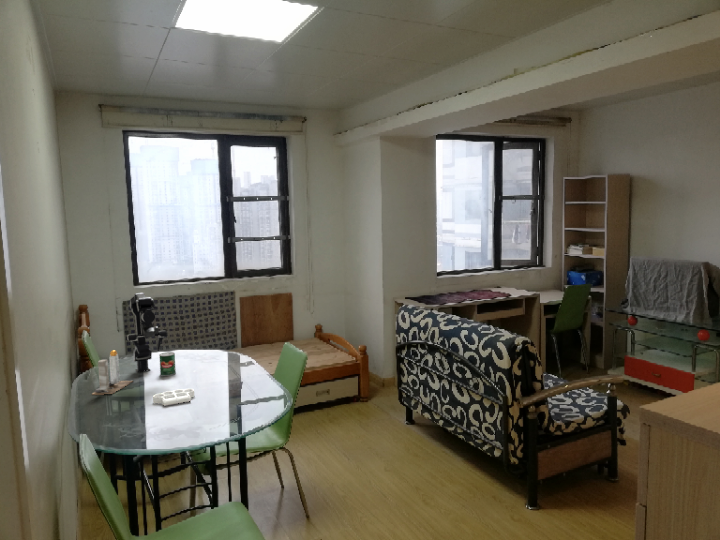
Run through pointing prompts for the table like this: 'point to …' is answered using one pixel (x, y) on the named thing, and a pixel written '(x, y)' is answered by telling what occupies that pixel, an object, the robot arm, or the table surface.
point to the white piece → (174, 397)
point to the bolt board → (116, 387)
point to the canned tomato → (167, 363)
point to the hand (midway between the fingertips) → (148, 352)
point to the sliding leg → (114, 368)
